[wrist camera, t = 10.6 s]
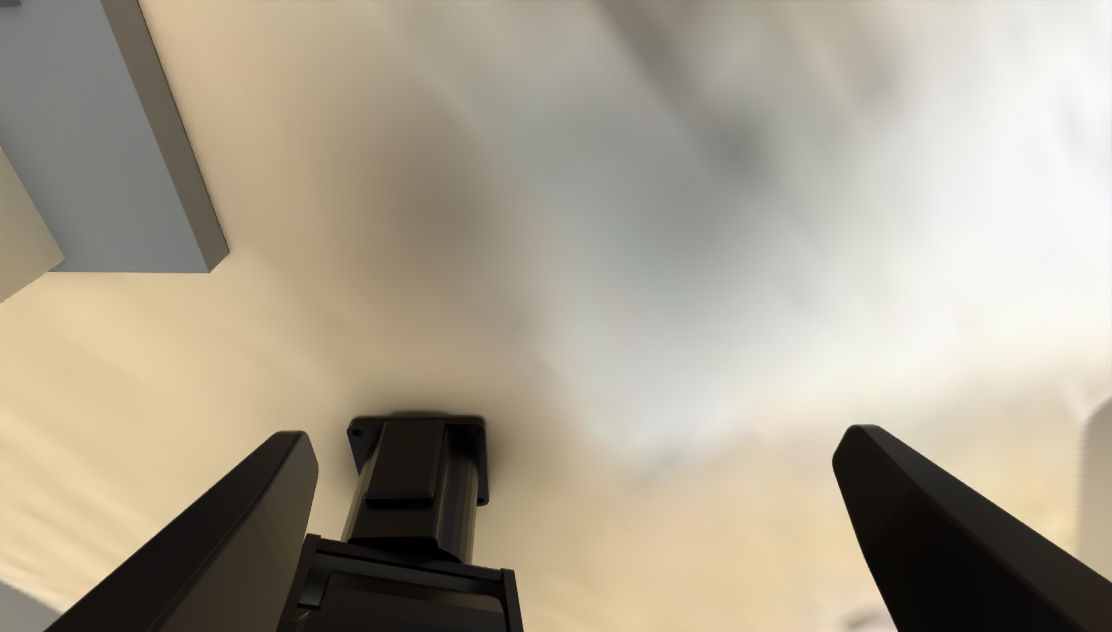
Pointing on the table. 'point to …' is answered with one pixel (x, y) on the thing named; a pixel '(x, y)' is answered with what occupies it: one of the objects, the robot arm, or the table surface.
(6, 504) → the table surface
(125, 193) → the socket board
